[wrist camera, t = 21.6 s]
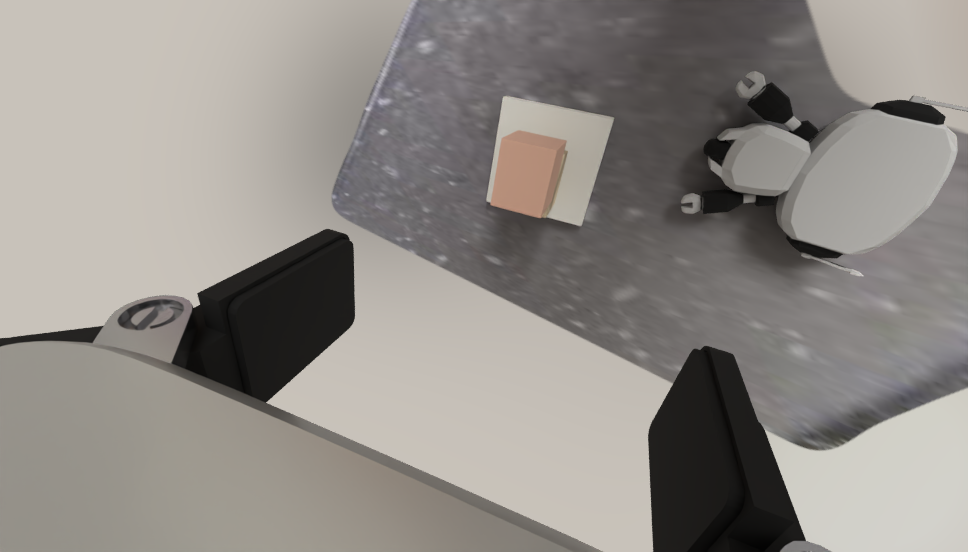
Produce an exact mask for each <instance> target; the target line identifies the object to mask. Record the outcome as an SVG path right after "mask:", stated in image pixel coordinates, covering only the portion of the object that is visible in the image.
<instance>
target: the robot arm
mask: <svg viewBox="0 0 968 552" xmlns="http://www.w3.org/2000/svg"><path fill="white" fill-rule="evenodd" d="M353 251H354V250H353V243H352V242H351V241H350V240H349V237H348V236H347V235H346V234H343V233H340V232H337V231H333V230H330V229H326V230H323V231H321V232H319V233H317V234H315V235H313V236H311V237H309V238H307V239H305V240H303V241H301V242H299V243H297V244H295V245H293V246H291V247H289V248H287V249H285V250H283V251H281V252H279V253H277V254H275V255H273V256H271V257H269V258H267V259H265V260H263V261H262V262H259V263H257V264H255V265H253V266H251V267H249V268H247V269H245V270H243V271H241V272H239V273H237V274H235V275H233V276H231V277H229V278H227V279H225V280H223V281H221V282H219V283H217V284H215V285H213V286H211V287H209V288H207V289H205V290H203V291H201V292H199V293H198V297H199V301H200V305H199V306H197V307H195V308H193V306H192V304H191V303H190V301H189V300H187V299H185V298H183V297H178V296H166V295H165V296H164V295H163V296H154V297H148V298H144V299H140V300H137V301H134V302H132V303H129V304H127V305H125V306H123V307H121V308H120V309H118V310H116V311H115V312H114V313H113V314H112V315H111V316H110V318H109V319H108V320H107V322H106V323H105V325H104V326H99V327H92V328H83V329H75V330H67V331H58V332H51V333H42V334H35V335H26V336H18V337H11V338H0V552H602V551H600V550H598V549H596V548H594V547H592V546H589V545H587V544H585V543H583V542H581V541H579V540H577V539H574V538H572V537H570V536H568V535H566V534H563V533H561V532H559V531H557V530H554V529H552V528H550V527H548V526H545V525H543V524H541V523H538V522H536V521H534V520H532V519H530V518H527V517H525V516H523V515H520V514H518V513H516V512H514V511H512V510H509V509H507V508H505V507H503V506H500V505H498V504H496V503H494V502H491V501H489V500H487V499H484V498H482V497H480V496H478V495H476V494H473V493H471V492H469V491H466V490H464V489H462V488H460V487H457V486H455V485H453V484H451V483H449V482H446V481H444V480H442V479H439V478H437V477H435V476H433V475H430V474H428V473H426V472H423V471H421V470H419V469H416V468H414V467H412V466H410V465H408V464H405V463H403V462H401V461H398V460H396V459H394V458H392V457H389V456H387V455H385V454H382V453H380V452H378V451H376V450H373V449H371V448H369V447H366V446H364V445H362V444H359V443H357V442H355V441H353V440H350V439H348V438H346V437H343V436H341V435H339V434H337V433H334V432H332V431H330V430H327V429H325V428H323V427H320V426H318V425H316V424H314V423H311V422H309V421H307V420H304V419H302V418H300V417H297V416H295V415H293V414H290V413H288V412H286V411H283V410H281V409H279V408H277V407H274V406H272V405H270V404H267V403H266V402H267V401H268V400H269V399H270V398H272V397H273V396H274V395H275V394H276V393H277V392H278V391H279V390H281V389H282V388H283V387H284V386H285V385H286V384H287V383H288V382H290V381H291V380H292V379H293V378H294V377H295V376H296V375H297V374H299V373H300V372H301V371H302V370H303V369H304V368H305V367H306V366H307V365H308V364H310V363H311V362H312V361H313V360H314V359H315V358H316V357H318V356H319V355H320V354H321V353H322V352H323V351H324V350H325V349H327V348H328V346H330V345H331V344H332V343H333V342H334V341H335V340H337V339H338V338H339V337H340V336H341V335H342V334H343V333H344V332H346V331H347V330H348V329H349V328H350V326H351V325H352V324H353V322H354V319H355V300H354V254H353V253H354V252H353ZM648 442H649V463H650V464H649V465H650V488H651V508H652V509H651V510H652V532H653V552H831V551H829V550H828V549H825V548H824V547H822V546H820V545H817V544H814V543H810V542H808V541H806V540H805V537H804V534H803V532H802V529H801V526H800V524H799V521H798V518H797V516H796V513H795V510H794V507H793V505H792V502H791V500H790V497H789V494H788V491H787V489H786V486H785V484H784V481H783V478H782V475H781V473H780V470H779V467H778V465H777V462H776V459H775V457H774V454H773V451H772V449H771V446H770V443H769V441H768V438H767V435H766V433H765V430H764V428H763V427H762V425H761V424H760V423H759V422H758V420H757V417H756V414H755V412H754V409H753V406H752V403H751V401H750V398H749V395H748V392H747V390H746V387H745V384H744V381H743V379H742V376H741V373H740V371H739V368H738V365H737V362H736V360H735V357H734V355H733V354H731V353H728V352H725V351H722V350H718V349H715V348H712V347H709V346H704V347H703V348H702V349H701V350H698V349H693V350H692V352H691V353H690V355H689V357H688V358H687V360H686V362H685V364H684V366H683V367H682V369H681V371H680V373H679V374H678V376H677V378H676V380H675V382H674V383H673V386H672V387H671V389H670V391H669V392H668V394H667V396H666V398H665V400H664V401H663V403H662V405H661V407H660V409H659V410H658V412H657V414H656V416H655V418H654V420H653V421H652V423H651V426H650V429H649V434H648Z"/></svg>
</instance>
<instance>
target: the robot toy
mask: <svg viewBox="0 0 968 552" xmlns="http://www.w3.org/2000/svg"><path fill="white" fill-rule="evenodd" d="M745 77H746V78H748V79H749V80H750V81H751V82H753V84H752V85H751V86H750V87H749V88H747V86H746V85H745V84H744V83H743V82H742V80H741V81H740V82H739V83H738V84H737V86H736V92H737V94H738V95H739V97H740V98H745V99H750V101H749V102H748V106H750V107H751V108H752V109H753V110H754V111H755V112H756V113H757V114H758V115H759V116H761V117H762V118H763V119H764V120H767V121H771V122H776V123H781V124H784V125H785V126H786V127H787V128H788V129H789V130H790V131H789V132H787V131H785V130H782V129H780V128H777V127H774V126H772V125H769V124H766V123H752V124H749V125H747V126H745V127H741V128H731V129H726V130H725V131H723V132H722V133H721V134H720V135H719V136H717V138H718V139H711V140H709V141H708V142H707V143H706V145H705V147H704V154H706V155H707V156H708V165H709V167H710V169H711V170H712V171H713V172H715V173H716V174H717V175H718V176H720V177H721V178H722V180H723V182H724V183H725V185H726V186H728V187H729V188H731V189H732V190H733V191H731V190H728V189H723V190H714V191H705V192H703V195H702V196H700V195H697V194H694V193H691V194H688V195H684V196H683V198H682V199H681V203H682V204H683V203H690V202H692V205H688V206H682V211H683V212H684V213H687V214H694V213H696V212H698V211H700V210H702V209H703V213H704V214H707V213H718V212H728V211H730V210H732V209H734V208H736V207H738V206H739V205H741V204H743V203H751V202H754V203H755V205H756V206H765V205H774V197H775V196H777V195H779V198H778V202H777V205H776V216H777V222H778V224H779V226H780V227H781V228H782V229H783V231H784V232H785V233H786V234H787V237H786V239H787V240H788V241H789V243H790V244H791V245H792V246H793V247H794V248H796V249H797V250H798V251H799V252H802V253H801V256H803V257H805V258H808V259H809V258H812V259H815V260H817V261H820V262H823V263H825V264H828V265H831V266H833V267H836V268H839V269H841V270H844V271H847V272H849V273H850V274H853V275H856V276H863V275H862V274H861V273H860V272H858V271H856V270H853V269H848V268H846V267H843V266H840V265H838V264H835V263H832V262H829V261H827V260H824V259H821V258H838V257H840V256H841V255H843V254H864V253H866V252H869V251H871V250H874V249H876V248H878V247H880V246H882V245H884V244H885V243H887V242H888V241H890V240H891V239H892V238H894V237H895V236H897V235H898V234H899V233H901V232H902V231H903V230H904V229H905V228H906V227H908V226H909V225H910V224H911V223H912V222H913V221H914V220H915V219H916V218H917V217H919V216H920V215H921V214H922V213H923V212H924V211H925V210H926V209H927V208H928V207H930V205H931V203H932V202H933V200H934V198H935V197H936V195H937V194H938V192H939V190H940V189H941V187H942V185H943V184H944V182H945V180H946V179H947V177H948V175H949V173H950V171H951V168H952V166H953V164H954V161H955V158H956V155H957V136H956V135H955V134H954V133H953V132H952V131H951V130H949V129H948V128H947V127H946V126H945V125H944V120H945V116H944V115H943V114H941V113H940V112H939V111H938V110H936V109H935V108H934V107H932V106H930V105H925V104H922V103H927V104H932V105H937V106H942V107H947V108H952V109H957V110H962V111H967V112H968V108H967V107H962V106H957V105H951V104H946V103H941V102H936V101H930V100H925V98H924V97H918V96H912V97H911V99H910V100H909V101H906V100H895V101H887V102H880V103H876V104H875V105H874V106H873V107H872V108H871V109H867V110H861V111H855V112H849V113H847V114H846V115H844V116H842V117H841V118H839V119H837V120H835V121H834V122H832V123H831V124H830V125H828V126H827V127H826V128H825V129H824V130H823V131H822V132H821V133H820V134H819V135H818V136H817V137H816V138H815V139H814V140H813V141H812V142H811V143H810V144H809V142H807V141H809V140H810V139H811V138H812V137H814V136H815V135H816V134H817V133H818V129H817V128H816V127H814V126H813V125H812V124H811V123H810V122H809V121H803V122H800V121H799V120H797V119H796V118H795V117H794V116H793V112H792V107H791V103H790V99H789V97H788V96H786V95H785V94H784V93H783V92H782V91H781V90H780V89H779V88H778V87H777V86H775V85H774V84H773V83H770V84H768V85H766V82H765V78H764V75H763V74H761V73H759V72H757V71H753V72H750V73H748V74H747V75H746V76H745ZM723 140H729V142H726V141H723ZM712 157H713V158H716V159H720V161H719V163H718V162H717V161H716V160H714V159H713V158H712ZM735 191H737V192H735ZM738 192H743V193H748V194H741V193H738Z"/></svg>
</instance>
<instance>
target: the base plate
mask: <svg viewBox="0 0 968 552" xmlns="http://www.w3.org/2000/svg"><path fill="white" fill-rule="evenodd" d="M614 118H615V117H610V116H605V115H600V114H595V113H590V112H585V111H580V110H575V109H570V108H565V107H560V106H555V105H550V104H545V103H540V102H535V101H530V100H526V99H521V98H516V97H511V96H504V97H503V101H502V107H501V113H500V119H499V126H498V132H497V138H496V144H495V150H494V156H493V163H492V169H491V175H490V181H489V187H488V194H487V200H486V201H487V202H491V199H492V193H493V187H494V181H495V175H496V169H497V163H498V157H499V151H500V145H501V139H502V138H503V137H505V136H507V135H509V134H511V133H513V132H515V131H517V130H521V131H525V132H530V133H534V134H539V135H544V136H548V137H553V138H557V139H562V140H566V141H567V142H566V146H565V150H566V151H568V154H567V158H566V161H565V165H564V169H563V173H562V177H561V181H560V185H559V189H558V193H557V197H556V201H555V204H554V205H553V207H552V209H551V210H550V212H549V213H548V215H547V217H548V218H552V219H555V220H559V221H563V222H567V223H570V224H574V225H578V226H582V223H583V220H584V217H585V213H586V210H587V207H588V203H589V200H590V197H591V194H592V190H593V187H594V184H595V180H596V177H597V174H598V170H599V167H600V164H601V161H602V157H603V154H604V151H605V147H606V144H607V141H608V137H609V134H610V131H611V128H612V124H613V121H614Z"/></svg>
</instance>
